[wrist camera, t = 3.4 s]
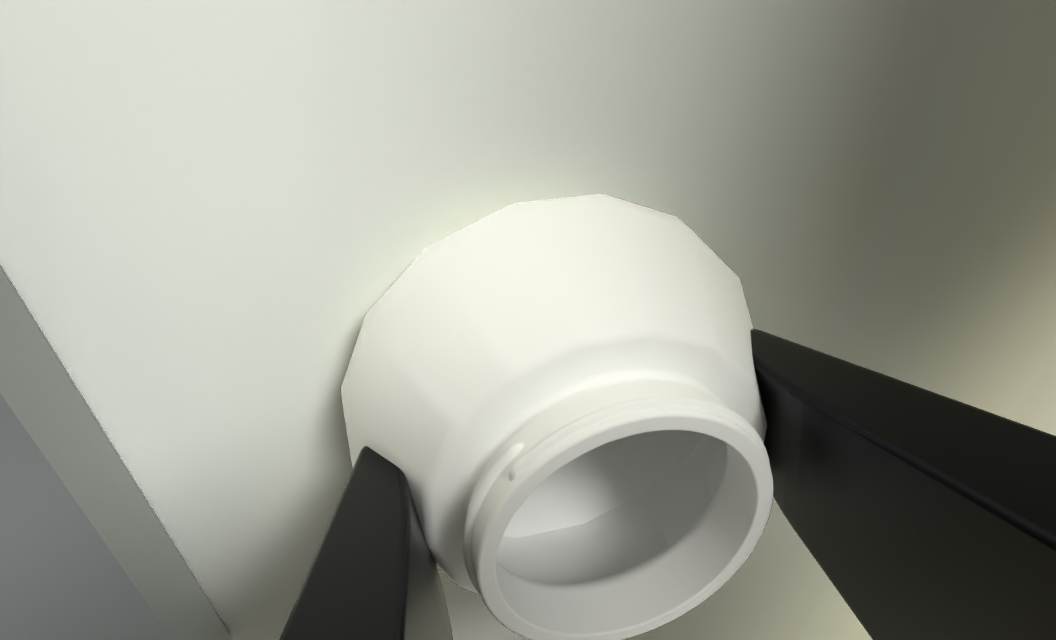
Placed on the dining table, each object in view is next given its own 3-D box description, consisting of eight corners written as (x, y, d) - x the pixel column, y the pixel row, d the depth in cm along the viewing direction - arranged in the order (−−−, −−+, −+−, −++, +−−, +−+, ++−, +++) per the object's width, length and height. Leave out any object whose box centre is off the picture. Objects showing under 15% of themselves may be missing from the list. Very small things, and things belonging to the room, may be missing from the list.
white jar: (789, 330, 10) (547, 88, 8) (942, 472, 8) (667, 192, 5) (540, 560, 12) (253, 415, 9) (609, 748, 9) (242, 628, 6)
